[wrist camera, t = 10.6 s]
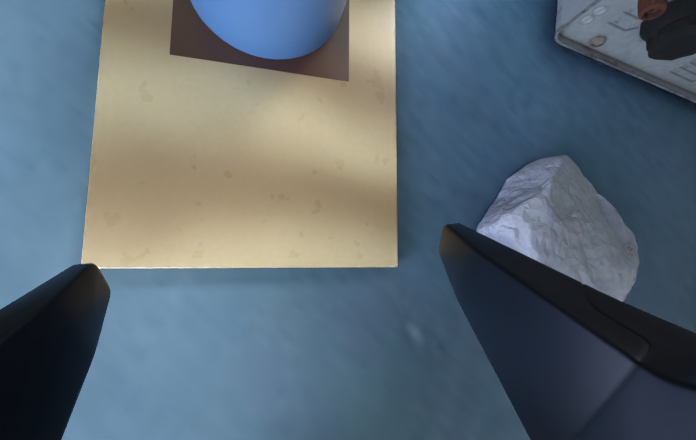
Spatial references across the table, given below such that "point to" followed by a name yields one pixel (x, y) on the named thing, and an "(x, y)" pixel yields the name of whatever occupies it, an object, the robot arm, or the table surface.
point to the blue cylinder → (272, 24)
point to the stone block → (564, 226)
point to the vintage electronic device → (635, 38)
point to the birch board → (242, 146)
